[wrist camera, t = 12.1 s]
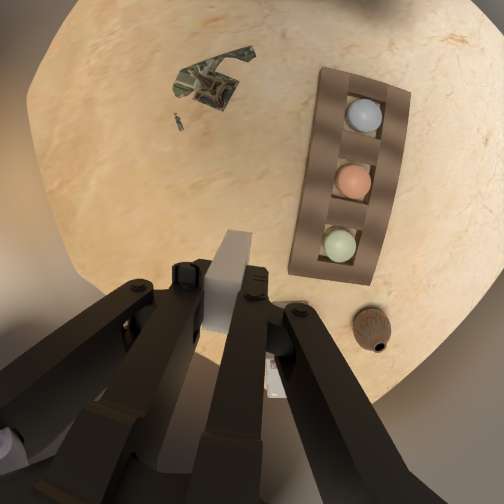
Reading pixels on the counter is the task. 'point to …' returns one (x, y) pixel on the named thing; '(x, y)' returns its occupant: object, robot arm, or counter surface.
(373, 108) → the button slate
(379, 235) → the button board
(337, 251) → the button sage
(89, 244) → the counter surface
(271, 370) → the skincare box
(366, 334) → the vase
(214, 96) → the eiffel tower figurine
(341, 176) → the button terracotta
